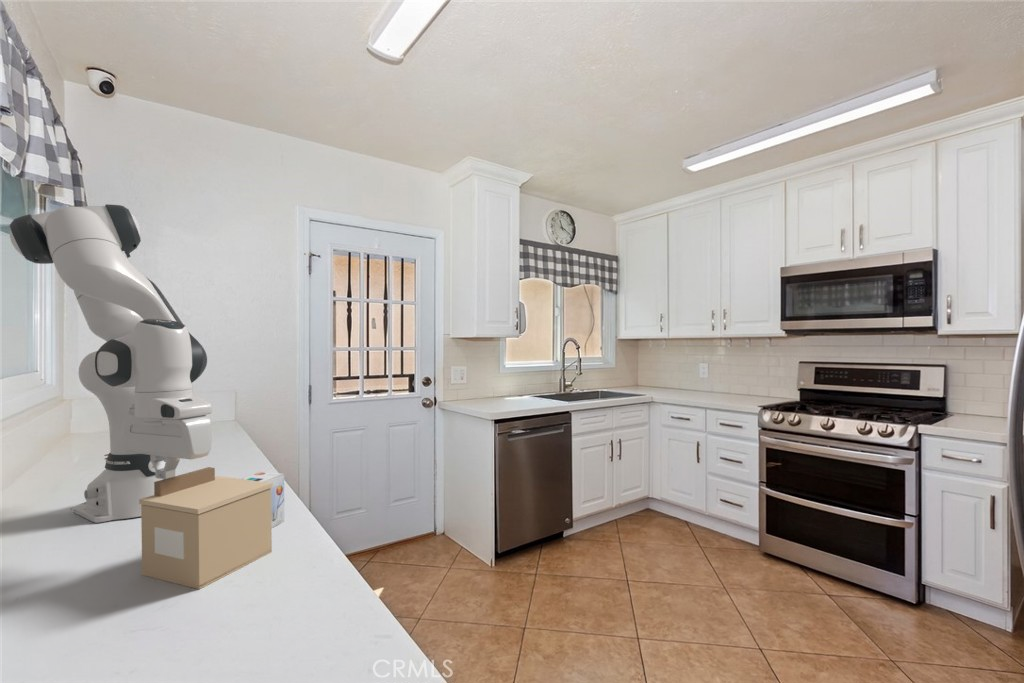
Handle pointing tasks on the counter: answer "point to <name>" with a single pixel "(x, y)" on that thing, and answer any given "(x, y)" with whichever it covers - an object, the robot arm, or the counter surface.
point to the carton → (205, 540)
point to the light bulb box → (273, 494)
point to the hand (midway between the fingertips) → (165, 478)
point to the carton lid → (201, 491)
